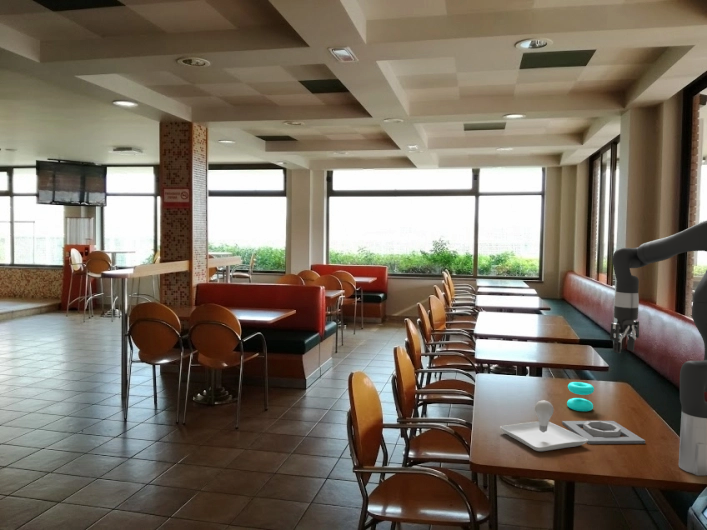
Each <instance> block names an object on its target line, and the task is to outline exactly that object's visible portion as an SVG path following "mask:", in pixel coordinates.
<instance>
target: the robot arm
mask: <svg viewBox="0 0 707 530" xmlns="http://www.w3.org/2000/svg"><path fill="white" fill-rule="evenodd" d="M688 252H706V253H707V220H703V221H700V222H698V223H696V224H694V225H692V226H690V227H688V228H686V229H684V230H682V231H679V232H676V233H674V234H672V235H669V236H665V237H662V238H659V239H654V240H651V241H647V242H644V243H642V244H640V245H639V246H638V247H620V248H617V249H616V250H615V251H614V252H613V254H612V262H611V263H612V267H613V271H614V272H613V273H614V276H615V278H616V279H615V280H616V283H615V294H614V304H613V305H614V308H613V310H614V311H613V317H614V319H616V322H611V323H610V332H609V333H610V334H609V335H610V336H609V340H610V341H612V342H613V353H616V354H621V352H622V341H623V339H624V338H625V337H627V343H626V345H627V346H626V349H627V350H628V351H629V352H630V351H631V352H634V350H635V341H636V340H637V339H639V338H640V321H639V320H638V318H639V306H640V305H639V301H640V297H639V290H640V289H639V288H640V287H639V285H640V281H639V278H638V277H637V275H633V274H632V272H631V270H630V269H639V268H643V267H645V266H648V265H650V264H654V263H658V262H662V261H665V260H669V259H671V258H674V257H675V256H677V255H680V254H683V253H688ZM694 290H695V291H694V293H693V296H692V308H691V317H692V321H693V323H694V324H695V327H696V330H698V333H699V334H700V337H701V338H702V341H703V345H704V355H703V360H688V361H685V362H684V363H683V364H682V366H681V368H680V371H679V372H680V373H679V400H680V401H679V402H680V404H681V413H680V414H681V415H680V416H681V418H680V432H679V448H678V449H679V451H678V453H679V454H678V467H679V469H681V470H683V471H684V472H687V473H690V474H693V475H695V476H707V401H706V399H705V393H707V269H706V270H705V272H704V275H703V276H702V278H701V279H700V281H699V283H698V284H697V286H696V288H695V289H694Z"/></svg>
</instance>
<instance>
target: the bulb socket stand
mask: <svg viewBox="0 0 707 530" xmlns="http://www.w3.org/2000/svg"><path fill="white" fill-rule="evenodd" d="M561 424H562V425H563V426H564V427H566V428H567V430H569V431H571V432H573V433H575V434H577V435H579V436H582V437H584V438H586V439H588V442H586V444H588V445H600V444H601V445H605V444H607V445H611V444H612V445H614V444H619V445H620V444H621V445H622V444H624V445H625V444H627V445H628V444H631V445H632V444H635V445H636V444H646V440H645V439H644V438H642V437H640V436H639V435H637V434H635V433H634V432H632V431H631V430H629V429H627V428H626V427H624V426H623V425H621V424H620V423H618V422H617V421H615V420H561Z"/></svg>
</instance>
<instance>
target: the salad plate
mask: <svg viewBox="0 0 707 530" xmlns="http://www.w3.org/2000/svg"><path fill="white" fill-rule="evenodd" d="M499 428H500V430H501V431H502V433H504V434H506V435H507V436H509V437H511V438H512V439H514V440H516V441H519V442H520V443H522V444H523V445H525V446H527V447H528V448H531V449H533V450H534V451H535V452H546V451H553V450H560V449H567V448H573V447H579V446H582V445H585V444H587V442H588V439H586V438H584V437H582V436H579V435H577V434H575V433H574V432H572V431H571V430H570V429H568V428H567V429H566V428H564V427H562V426H560V425H558V424H555V423H553V422H551V421H549V423H548V427H547V431H546V432H541V431H540V430H539V420H538V421H528V422H521V423H514V424H507V425H500V426H499Z"/></svg>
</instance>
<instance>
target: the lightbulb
mask: <svg viewBox="0 0 707 530" xmlns="http://www.w3.org/2000/svg"><path fill="white" fill-rule="evenodd" d="M534 412H535V414H536V417H537V420H538V421H539V430H540V431H541V432H546V431H547V427H548V423H549V422H550V419H551V418H552V416H553V414H554V406H553V404H552V403H551V402H550V401H548V400H544V399H542V400H539V401H537V402H536V404H535V405H534Z"/></svg>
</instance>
